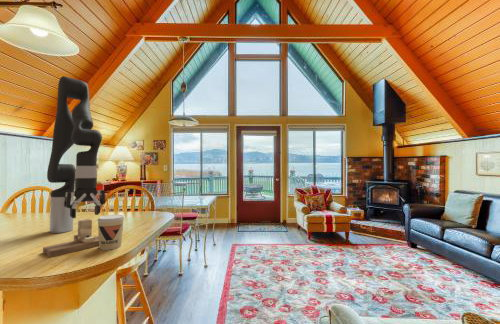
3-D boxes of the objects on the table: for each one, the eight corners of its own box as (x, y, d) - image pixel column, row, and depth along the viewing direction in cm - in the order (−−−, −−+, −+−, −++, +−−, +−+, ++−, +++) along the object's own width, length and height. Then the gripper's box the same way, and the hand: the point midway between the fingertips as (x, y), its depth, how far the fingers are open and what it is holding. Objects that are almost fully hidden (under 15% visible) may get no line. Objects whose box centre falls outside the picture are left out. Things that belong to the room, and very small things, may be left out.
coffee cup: (94, 251, 92) (95, 219, 93) (99, 244, 101) (99, 215, 101) (122, 248, 96) (123, 218, 96) (124, 242, 105) (125, 213, 105)
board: (42, 252, 91) (43, 247, 91) (100, 239, 107) (100, 235, 107) (50, 257, 86) (50, 251, 86) (109, 243, 103) (109, 238, 103)
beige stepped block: (73, 243, 101) (74, 220, 101) (86, 240, 105) (87, 218, 105) (83, 247, 95) (84, 223, 96) (96, 244, 99) (97, 220, 100)
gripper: (100, 176, 109) (99, 212, 109) (62, 177, 97) (61, 218, 97) (108, 176, 105) (108, 214, 104) (69, 177, 93) (68, 220, 93)
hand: (85, 216), depth 101 cm, fingers open, 8 cm apart
